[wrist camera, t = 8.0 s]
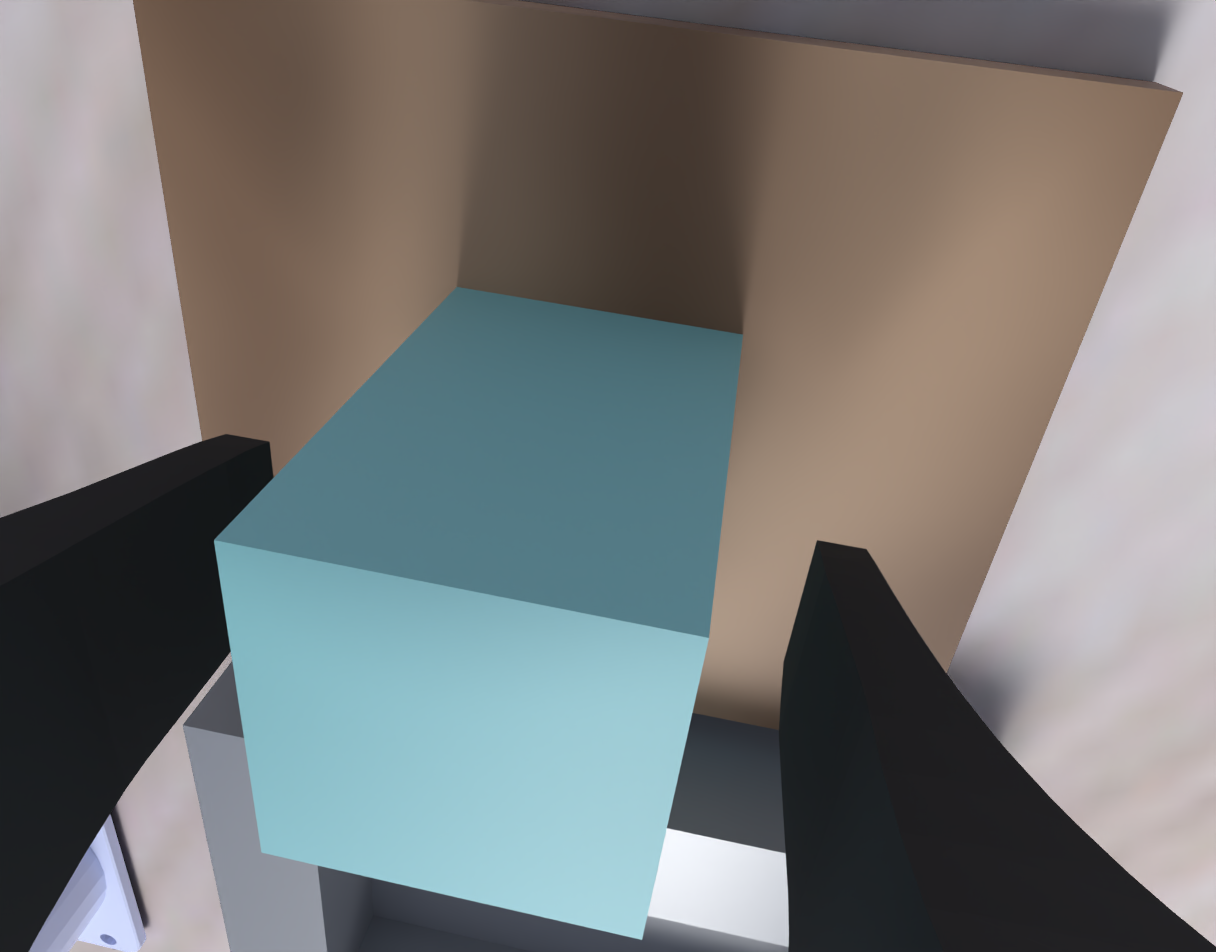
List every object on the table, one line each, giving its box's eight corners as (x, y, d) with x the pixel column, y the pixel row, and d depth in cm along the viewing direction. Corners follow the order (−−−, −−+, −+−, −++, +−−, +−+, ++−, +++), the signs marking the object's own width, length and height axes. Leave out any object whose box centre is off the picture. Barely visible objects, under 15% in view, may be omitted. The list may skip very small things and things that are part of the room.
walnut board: (254, 591, 19) (230, 620, 19) (168, -45, 13) (126, -44, 12) (906, 718, 18) (912, 756, 17) (1155, 81, 12) (1183, 92, 11)
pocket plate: (301, 936, 26) (249, 1042, 24) (259, 626, 20) (182, 725, 17) (850, 1063, 25) (858, 1191, 22) (991, 771, 19) (1023, 904, 16)
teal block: (452, 522, 16) (261, 852, 10) (456, 286, 14) (214, 539, 8) (695, 569, 16) (642, 940, 10) (743, 334, 14) (709, 637, 8)
